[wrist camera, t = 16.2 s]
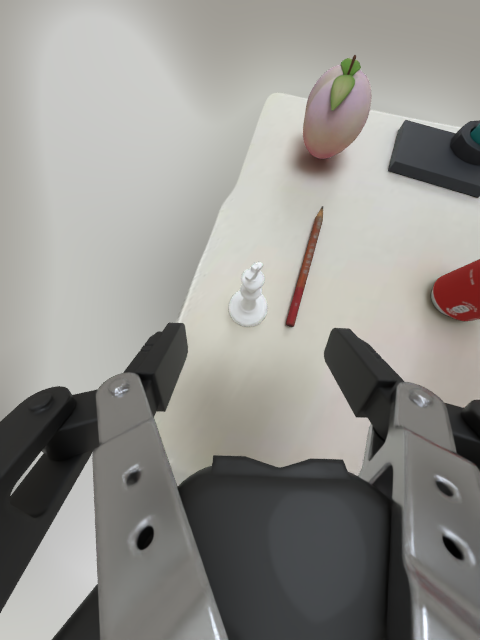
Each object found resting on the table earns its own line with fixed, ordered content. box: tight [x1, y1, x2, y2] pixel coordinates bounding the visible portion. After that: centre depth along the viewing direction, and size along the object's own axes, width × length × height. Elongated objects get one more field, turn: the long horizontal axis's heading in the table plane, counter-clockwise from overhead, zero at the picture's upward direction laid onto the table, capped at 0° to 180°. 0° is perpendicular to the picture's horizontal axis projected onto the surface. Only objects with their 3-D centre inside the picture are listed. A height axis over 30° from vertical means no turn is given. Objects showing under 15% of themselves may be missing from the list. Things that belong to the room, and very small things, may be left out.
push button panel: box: [388, 120, 480, 197], centre depth 29 cm, size 14×11×3 cm
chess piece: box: [229, 262, 267, 327], centre depth 18 cm, size 5×5×10 cm
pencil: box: [286, 206, 323, 327], centre depth 24 cm, size 19×1×1 cm, turn 161°
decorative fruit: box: [303, 55, 371, 159], centre depth 25 cm, size 9×8×10 cm
